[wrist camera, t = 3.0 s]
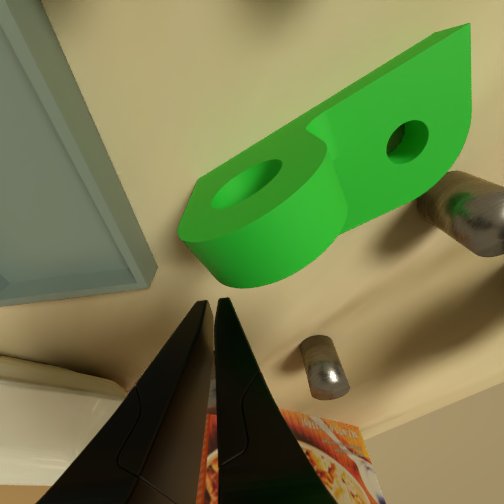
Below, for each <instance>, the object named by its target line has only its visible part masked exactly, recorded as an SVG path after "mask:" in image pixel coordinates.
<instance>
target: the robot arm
mask: <svg viewBox="0 0 504 504" xmlns="http://www.w3.org/2000/svg"><path fill="white" fill-rule="evenodd" d="M214 342H215V377H216V412H217V447H218V468H219V470H218V504H338V502H337V501H336V500H335V498H334V497H333V496H332V494H331V493H330V492H329V490H328V489H327V487H326V486H325V484H324V483H323V482H322V480H321V479H320V477H319V475H318V474H317V472H316V471H315V469H314V468H313V466H312V464H311V463H310V461H309V459H308V458H307V456H306V454H305V453H304V451H303V449H302V448H301V446H300V444H299V442H298V441H297V439H296V437H295V436H294V434H293V432H292V431H291V429H290V427H289V426H288V424H287V422H286V421H285V419H284V417H283V415H282V414H281V412H280V410H279V408H278V406H277V405H276V403H275V401H274V399H273V397H272V395H271V393H270V391H269V389H268V386H267V384H266V382H265V380H264V377H263V375H262V373H261V371H260V368H259V366H258V363H257V361H256V359H255V356H254V354H253V352H252V349H251V347H250V345H249V342H248V340H247V338H246V335H245V333H244V331H243V328H242V326H241V324H240V321H239V319H238V317H237V314H236V312H235V309H234V307H233V305H232V302H231V300H230V298H228V297H227V298H220V299H219V300H218V305H217V311H216V317H215V324H214ZM212 366H213V314H212V311H211V307H210V304H209V302H208V301H207V300H203V301H197V302H196V303H195V304H194V306H193V307H192V308H191V310H190V311H189V313H188V314H187V315H186V317H185V318H184V319H183V321H182V322H181V323H180V325H179V326H178V327H177V329H176V330H175V332H174V333H173V334H172V336H171V337H170V338H169V340H168V341H167V342H166V344H165V345H164V346H163V348H162V349H161V351H160V352H159V353H158V355H157V356H156V357H155V359H154V360H153V361H152V363H151V364H150V365H149V367H148V368H147V370H146V371H145V372H144V374H143V375H142V376H141V378H140V379H139V380H138V382H137V383H136V386H134V387H133V388H132V390H131V391H130V392H129V394H128V395H127V396H126V398H125V399H124V400H123V402H122V403H121V404H120V406H119V407H118V408H117V410H116V411H115V412H114V413H113V415H112V416H111V417H110V418H109V420H108V421H107V422H106V423H105V424H104V426H103V427H102V428H101V429H100V430H99V432H98V433H97V434H96V435H95V436H94V438H93V439H92V440H91V441H90V442H89V443H88V445H87V446H86V447H85V448H84V449H83V450H82V452H81V453H80V454H79V455H78V456H77V457H76V459H75V460H74V461H73V462H72V463H71V464H70V466H69V467H68V468H67V469H66V470H65V471H64V473H63V474H62V475H61V476H60V477H59V478H58V480H57V481H56V482H55V483H54V484H53V485H52V487H51V488H50V489H49V490H48V491H47V492H46V493H45V495H43V496H42V497H41V498H40V500H38V501H37V502H36V503H35V504H196V498H197V490H198V481H199V473H200V465H201V457H202V448H203V440H204V432H205V423H206V415H207V407H208V399H209V390H210V382H211V374H212Z"/></svg>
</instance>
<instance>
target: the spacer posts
mask: <svg viewBox="0 0 504 504" xmlns="http://www.w3.org/2000/svg"><path fill="white" fill-rule="evenodd" d="M417 209H418V212H419V214H420V215H421V216H422V217H423V218H425V219H426V220H428V221H429V222H430V223H432V224H433V225H435V226H436V227H438V228H439V229H440V230H442V231H443V232H445V233H446V234H448V235H449V236H450V237H452V238H453V239H455V240H456V241H458V242H459V243H460V244H462V245H463V246H465V247H466V248H468V249H469V250H470V251H472V252H473V253H475V254H476V255H478V256H481V257H494V256H499V255H502V254H504V187H502V186H500V185H497V184H494V183H492V182H489V181H486V180H484V179H481V178H478V177H476V176H473V175H470V174H468V173H465V172H462V171H451V172H447V173H446V174H445V175H444V176H443V177H442V178H441V179H440V180H439V181H438V182H437V183H436V184H435V185H434V186H433V187H432V188H430V189H429V190H428V191H427V192H425V193H424V194H422V195H421V196H420V197H419V199H418V203H417ZM300 350H301V354H302V358H303V362H304V366H305V370H306V374H307V379H308V383H309V387H310V391H311V395H312V397H314V398H315V399H318V400H332V399H336V398H339V397H342V396H344V395H345V394H346V393H348V391H349V389H350V386H349V384H348V381H347V378H346V376H345V373H344V370H343V368H342V365H341V363H340V360H339V357H338V355H337V352H336V349H335V347H334V344H333V341H332V339H331V338H329V337H327V336H323V335H317V336H312V337H310V338H307V339H306V340H304V341H303V342H302V343H301V345H300ZM207 414H211V415H217V412H216V377H215V351H213V366H212V374H211V382H210V390H209V399H208V407H207Z"/></svg>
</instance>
